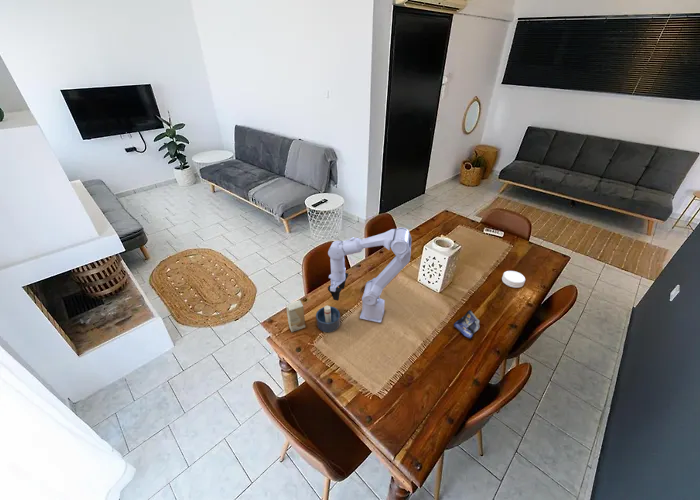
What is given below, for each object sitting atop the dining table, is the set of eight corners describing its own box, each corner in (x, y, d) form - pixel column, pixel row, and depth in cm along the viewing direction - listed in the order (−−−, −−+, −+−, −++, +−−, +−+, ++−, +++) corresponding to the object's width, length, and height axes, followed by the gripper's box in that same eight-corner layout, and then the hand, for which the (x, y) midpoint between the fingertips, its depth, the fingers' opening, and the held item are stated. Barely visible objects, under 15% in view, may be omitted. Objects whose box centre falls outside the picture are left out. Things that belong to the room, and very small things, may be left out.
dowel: (332, 320, 130) (331, 305, 125) (330, 325, 127) (329, 310, 123) (326, 319, 130) (325, 304, 126) (324, 323, 128) (323, 309, 123)
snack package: (489, 337, 122) (475, 316, 131) (491, 327, 118) (476, 305, 128) (461, 344, 121) (448, 322, 131) (462, 334, 118) (448, 313, 127)
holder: (343, 317, 132) (342, 308, 129) (335, 334, 124) (335, 325, 121) (321, 312, 134) (321, 304, 132) (313, 329, 126) (312, 320, 124)
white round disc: (518, 291, 145) (520, 285, 143) (497, 281, 151) (499, 275, 149) (527, 282, 150) (529, 276, 148) (507, 273, 157) (509, 267, 155)
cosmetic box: (291, 332, 125) (288, 311, 118) (288, 325, 128) (284, 304, 122) (306, 327, 127) (303, 305, 121) (302, 320, 131) (300, 299, 124)
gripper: (334, 257, 130) (335, 281, 138) (322, 277, 118) (324, 303, 126) (350, 259, 128) (350, 284, 136) (339, 280, 117) (340, 306, 124)
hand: (338, 293), depth 131 cm, fingers open, 7 cm apart
